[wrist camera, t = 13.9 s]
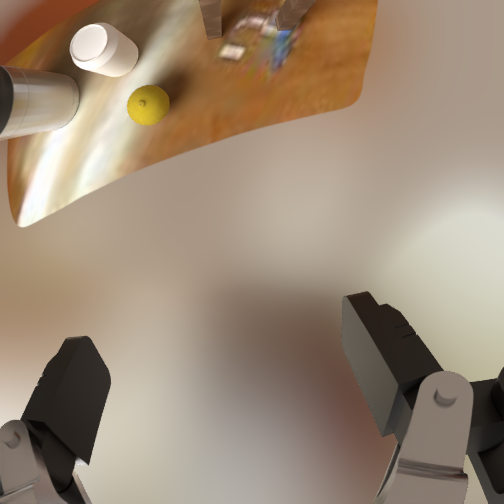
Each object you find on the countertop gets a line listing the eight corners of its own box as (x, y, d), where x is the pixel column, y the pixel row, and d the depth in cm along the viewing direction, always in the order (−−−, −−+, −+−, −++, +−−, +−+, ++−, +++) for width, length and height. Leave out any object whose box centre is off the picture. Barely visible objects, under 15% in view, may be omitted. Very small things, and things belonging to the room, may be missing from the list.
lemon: (144, 83, 37) (128, 77, 30) (179, 93, 39) (169, 89, 31) (131, 118, 39) (113, 120, 32) (166, 129, 41) (153, 132, 33)
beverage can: (107, 84, 37) (71, 77, 26) (97, 51, 34) (60, 35, 23) (145, 67, 36) (118, 52, 25) (134, 33, 34) (106, 9, 23)
